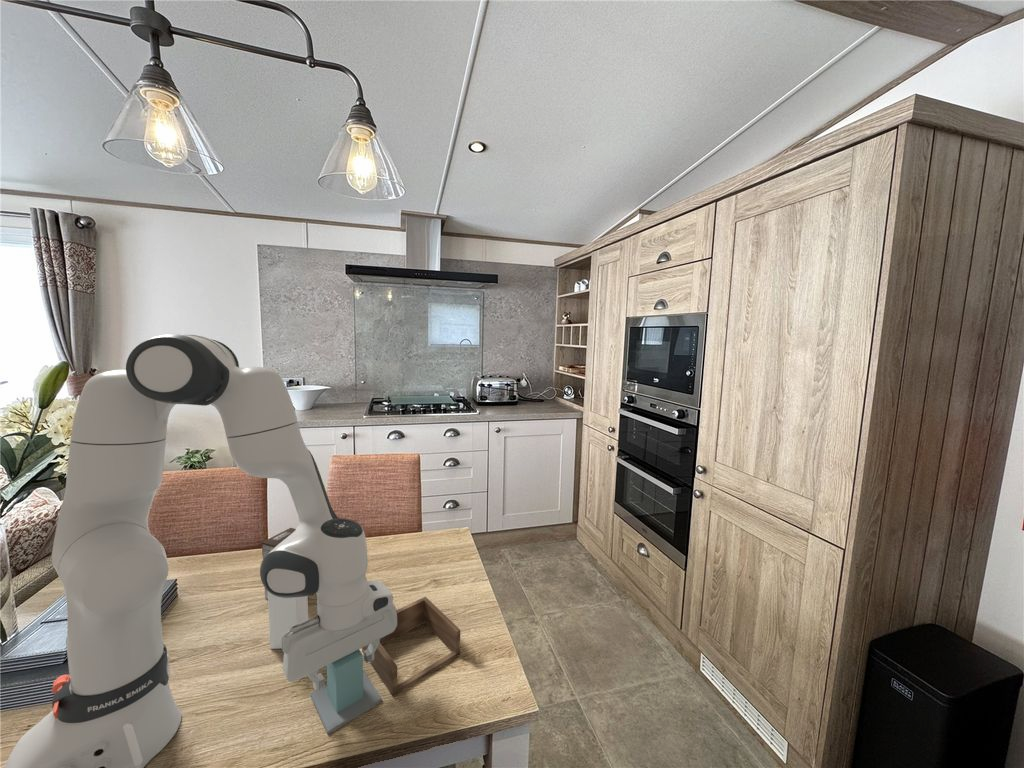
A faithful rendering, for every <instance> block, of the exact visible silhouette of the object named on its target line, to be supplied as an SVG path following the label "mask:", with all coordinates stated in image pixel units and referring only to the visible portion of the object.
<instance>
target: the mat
mask: <svg viewBox="0 0 1024 768" xmlns="http://www.w3.org/2000/svg"><path fill="white" fill-rule="evenodd" d="M310 698H311V700H312V703H313V705H314V708H315V710H316V712H317V714H318V717H319V719H320V721H321V723H322V725H323V728H324V730H325V733H326V734H327V735H330V734H331V733H333V732H334V731H336V730H339V728H341V727H342V726H344V725H346V724H348V723H349V722H350V721H352V720H354V719H356V718H357V717H359V716H361V715H362V714H363V713H365V712H367V711H369V710H370V709H372V708H374V707H375V706H376V705H378V704H379V703H381V702H383V698H382V696H381V695H380V693H379V692H378V690H377V689H376V687H375V685H374V684H373V682H372V681H371V679H370V678H369V676H368V675H367V673H366V671H365V670H364V669H363V698H361V699H360V700H358V701H356V702H355V703H353V704H351V705H350V706H348V707H346V708H344V709H343V710H341V711H339V712H338V713H336V711H335V709H334V707H333V705H332V703H331V701H330V699H329V696H328V688H327V684H325V685H324V687H322V688H320V689H318V690H316V691H315V690H314V691H313V692H311V693H310Z"/></svg>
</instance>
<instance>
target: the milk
mask: <svg viewBox="0 0 1024 768" xmlns="http://www.w3.org/2000/svg"><path fill="white" fill-rule="evenodd" d="M308 599H309V598H308V596H304V597H293V598H282V597H277V596H275V595H273V594H271V593H270V592H269V591H268V599H267V605H268V608H267V609H268V625H269V626H268V627H269V645H270V646H269V648H270V649H271V650H273V649H277V650H278V649H279V650H280V649H282V643H281V642H282V638H283V636H284V635H285V634H286V633H287V632H288V631H289V630H290V629H291V627H293V626H295V625H297V624H301V623H303V622H305V621H307V620H309V608H308V607H309V605H308V604H309V603H308V601H309V600H308Z"/></svg>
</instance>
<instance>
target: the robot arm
mask: <svg viewBox="0 0 1024 768" xmlns="http://www.w3.org/2000/svg"><path fill="white" fill-rule="evenodd" d="M126 359H127V361H126V363H125V369H113V370H107V371H103V372H101V373H100V372H99V373H97V374H94V375H93V376H91V377H90V378H89V379H88V380H87V381H86V382H85V383H84V386H83V388H82V390H81V393H80V396H79V398H78V402H77V405H76V407H75V411H74V415H73V420H72V426H71V432H70V440H69V449H68V451H69V452H68V460H67V469H66V481H65V488H64V489H65V490H64V494H63V499H62V502H61V507H60V510H59V515H58V519H57V524H56V528H55V533H54V540H53V543H52V544H53V545H52V550H51V562H52V565H53V567H54V570H55V571H56V573H57V575H58V578H59V580H60V582H61V585H62V588H63V591H64V594H65V599H66V607H67V608H66V611H67V632H66V633H67V635H66V638H65V639H66V640H65V646H66V654H67V655H66V656H67V664H68V672H69V674H62V675H60V676H58V677H57V678H56V679H55V680H54V681H53V683H52V687H51V693H52V694H53V697H52V700H51V703H52V704H51V706H52V707H51V708H52V710H51V711H50V712H49V713H48V714H47V715H45V716H44V717H43V718H41V719H40V720H39V721H38V722H37V723H36V724H35V725H34V726H33V727H31V728H30V729H29V730H27V731H26V732H25V733H24V734H23V735H22V736H21V737H20V739H18V741H17V743H16V744H15V745H14V747H13V749H12V750H11V752H10V755H9V757H8V758H7V761H6V763H5V765H4V768H145V767H146V765H148V763H149V762H150V761H151V760H152V759H153V758H154V757H155V756H157V755H158V754H159V753H160V752H161V751H162V750H163V749H164V748H165V747H166V746H167V745H168V743H169V742H170V741H171V740H172V739H173V737H174V736H175V735H176V733H177V731H178V729H179V727H180V724H181V722H182V712H181V709H180V708H179V707H178V705H177V703H176V701H175V699H174V697H173V694H172V691H171V687H170V685H169V679H170V673H171V672H170V659H169V658H170V657H169V653H168V650H167V647H166V645H165V644H164V639H163V628H162V627H163V625H162V611H161V609H162V601H163V600H162V599H163V592H164V588H165V587H164V585H165V583H166V581H167V579H168V575H169V562H168V557H167V553H166V551H165V548H164V546H163V545H162V543H161V541H159V540H158V539H157V538H156V537H155V536H153V534H152V533H151V532H150V528H149V521H148V520H149V519H148V518H149V513H150V511H151V507H152V504H153V501H154V499H155V496H156V493H157V491H158V489H160V487H161V486H162V482H163V475H164V474H163V473H164V472H163V471H164V462H165V453H166V443H167V431H168V429H167V428H168V421H169V416H170V414H171V412H172V410H173V408H174V407H175V406H176V405H189V406H190V405H192V406H203V407H205V406H210V405H211V406H212V407H214V408H215V409H216V410H217V412H218V413H219V415H220V418H221V421H222V423H223V428H224V433H225V437H226V440H227V441H226V442H227V445H228V450H229V453H230V456H231V459H232V460H233V462H234V463H235V465H236V467H237V468H238V469H239V470H240V471H242V472H243V473H245V474H246V475H249V476H252V477H255V478H262V479H277V480H280V481H281V482H282V483H284V484H285V485H286V487H287V489H288V491H289V494H290V498H291V500H292V502H293V505H294V508H295V510H296V513H297V516H298V523H297V526H296V528H295V529H296V530H295V531H294V532H293V533H292V534H291V535H290V536H288V537H287V538H286V539H284V540H283V541H282V542H281V543H280V544H278V545H277V546H276V547H275V548H274V549H273V550H272V551H270V552H269V553H268V555H266V556H265V558H264V559H263V558H262V561H261V562H260V563H261V564H260V568H259V575H260V581H261V583H262V585H263V587H264V589H265V588H266V589H267V590H268V591H269V592H270V593H271V594H273V595H275V596H277V597H282V598H293V597H304V596H307V597H309V596H312V595H315V594H316V606H317V607H316V611H317V615H316V616H314V617H312V618H310V619H309V618H308V620H307V621H305V622H303V623H301V624H297V625H295V626H293V627H291V629H290V630H289V631H288V632H287V633H286V634H285V635H284V636H283V638H282V642H281V643H282V648H281V652H283V661H282V662H283V663H282V669H283V673H284V675H285V679H286V680H287V681H288V682H291V683H294V682H295V683H296V682H297V681H299V680H301V679H303V678H304V677H308V678H309V680H310V681H311V682H312V686H313V688H314V691H316V690H318V689H320V688H322V687H324V686H325V678H324V676H323V673H322V672H319V673H318V671H319V670H322V669H323V668H325V667H327V665H329V664H331V663H333V662H335V661H337V660H339V659H341V658H343V657H345V656H347V655H349V654H351V653H353V652H355V651H357V650H362V648H363V647H365V646H367V645H369V646H368V649H366V650H365V651H364V653H363V660H364V662H365V664H368V663H369V664H370V662H371V661H373V660H374V652H375V651H376V649H377V647H378V645H379V643H380V638H382V637H384V636H386V635H388V634H391V633H392V632H394V630H395V629H396V627H397V612H396V610H397V608H396V605H395V604H394V595H393V593H392V591H391V590H390V589H389V587H387V586H386V585H385V584H384V583H383V582H382V581H380V580H368V579H367V577H366V576H367V570H368V567H369V566H368V565H369V564H368V561H369V560H368V546H367V538H366V534H365V531H364V529H363V527H362V525H361V524H360V523H359V522H357V521H355V520H353V519H350V518H344V517H341V518H339V517H338V516H337V514H336V512H335V511H334V509H333V507H332V505H331V502H330V499H329V496H328V494H327V493H328V492H327V490H326V487H325V484H324V482H323V479H322V476H321V473H320V470H319V468H318V465H317V462H316V460H315V458H314V456H313V454H312V453H311V451H310V449H308V447H307V446H306V443H305V441H304V438H303V436H302V433H301V429H300V426H299V423H298V418H297V414H296V410H295V407H294V404H293V401H292V398H291V395H290V392H289V391H288V388H287V386H286V384H285V382H284V380H283V378H282V377H281V374H280V373H278V372H277V371H276V370H274V369H270V368H268V367H262V366H249V367H240V364H239V360H238V358H237V356H236V354H235V353H234V352H233V350H232V349H231V348H230V347H228V346H227V344H224V343H223V342H221V341H218V340H215V339H211V338H208V337H206V336H202V335H196V334H177V333H175V334H174V333H169V334H168V333H167V334H166V333H165V334H161V335H155V336H152V337H149V338H147V339H146V340H144V341H142V342H141V343H139V344H137V346H135V347H134V348H133V349H132V350H131V351H130V354H129V355H128V357H127V358H126Z"/></svg>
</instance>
